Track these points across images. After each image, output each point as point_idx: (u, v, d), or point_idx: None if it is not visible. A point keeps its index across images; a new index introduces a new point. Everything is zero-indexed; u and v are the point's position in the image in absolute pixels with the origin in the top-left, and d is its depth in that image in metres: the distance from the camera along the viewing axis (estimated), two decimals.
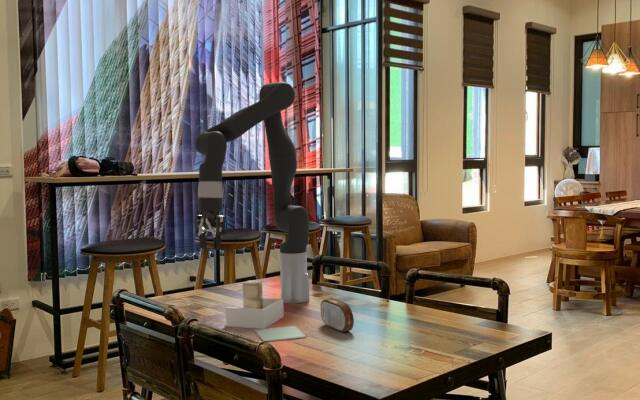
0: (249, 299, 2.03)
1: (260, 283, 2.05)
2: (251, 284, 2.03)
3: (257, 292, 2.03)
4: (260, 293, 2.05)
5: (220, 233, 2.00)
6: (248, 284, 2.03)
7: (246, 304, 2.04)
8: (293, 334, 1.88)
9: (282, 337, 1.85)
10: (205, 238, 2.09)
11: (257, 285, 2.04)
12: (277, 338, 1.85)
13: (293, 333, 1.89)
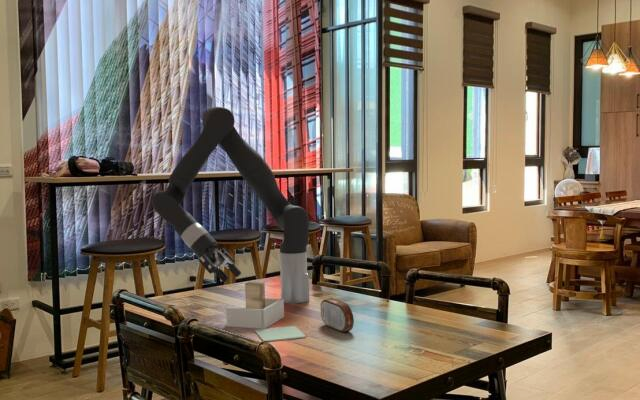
0: (251, 299, 2.03)
1: (262, 283, 2.05)
2: (253, 284, 2.03)
3: (259, 292, 2.03)
4: (262, 293, 2.05)
5: (210, 270, 2.02)
6: (250, 284, 2.03)
7: (249, 304, 2.04)
8: (293, 334, 1.88)
9: (282, 337, 1.85)
10: (233, 266, 2.11)
11: (260, 286, 2.03)
12: (277, 338, 1.85)
13: (293, 333, 1.89)
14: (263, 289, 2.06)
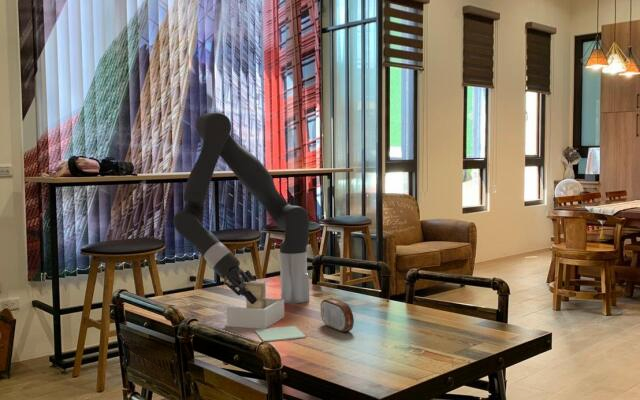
0: None
1: (263, 283, 2.05)
2: (254, 284, 2.03)
3: (260, 292, 2.03)
4: (263, 293, 2.05)
5: (238, 292, 2.01)
6: (251, 284, 2.03)
7: (250, 304, 2.03)
8: (293, 334, 1.88)
9: (282, 337, 1.85)
10: None
11: (260, 286, 2.03)
12: (277, 338, 1.85)
13: (293, 333, 1.89)
14: (264, 289, 2.05)
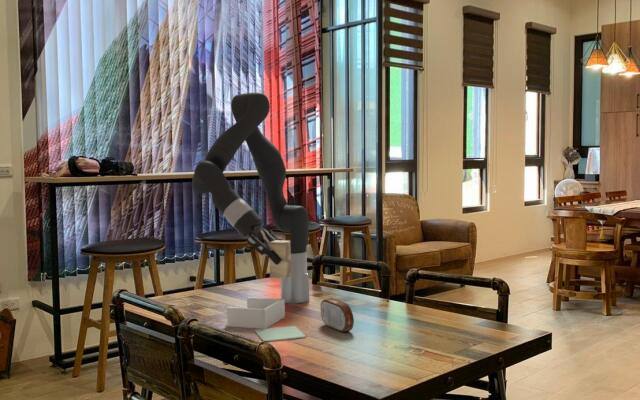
0: None
1: (288, 243, 1.88)
2: (279, 243, 1.86)
3: (285, 252, 1.86)
4: (288, 254, 1.88)
5: (262, 251, 1.84)
6: (275, 243, 1.86)
7: (273, 265, 1.87)
8: (293, 334, 1.88)
9: (282, 337, 1.85)
10: None
11: (285, 245, 1.86)
12: (277, 338, 1.85)
13: (293, 333, 1.89)
14: (289, 249, 1.89)
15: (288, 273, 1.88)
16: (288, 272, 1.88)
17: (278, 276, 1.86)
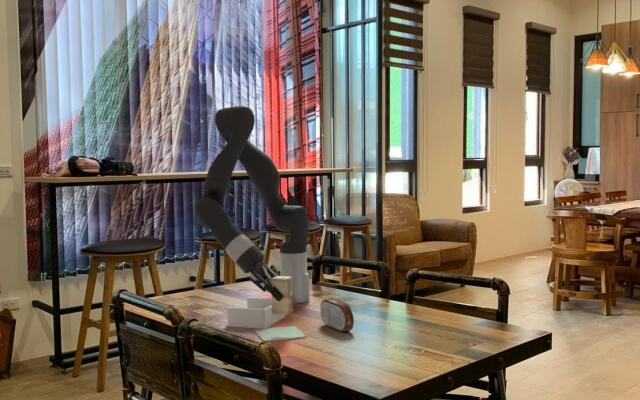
0: None
1: (290, 279, 1.89)
2: (281, 280, 1.86)
3: (287, 288, 1.87)
4: (290, 290, 1.89)
5: (264, 288, 1.85)
6: (277, 280, 1.86)
7: (275, 301, 1.87)
8: (293, 334, 1.88)
9: (282, 337, 1.85)
10: None
11: (287, 281, 1.87)
12: (277, 338, 1.85)
13: (293, 333, 1.89)
14: (291, 285, 1.89)
15: (290, 309, 1.89)
16: (290, 308, 1.89)
17: (280, 312, 1.87)
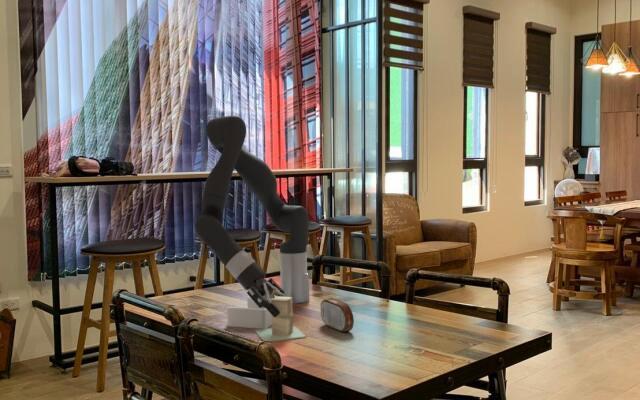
0: (278, 317, 1.87)
1: (290, 299, 1.89)
2: (281, 301, 1.87)
3: (287, 309, 1.87)
4: (290, 310, 1.89)
5: (260, 304, 1.84)
6: (277, 301, 1.87)
7: (275, 322, 1.88)
8: (293, 334, 1.88)
9: (282, 337, 1.85)
10: None
11: (287, 302, 1.87)
12: (277, 338, 1.85)
13: (293, 333, 1.89)
14: (291, 306, 1.90)
15: (290, 330, 1.89)
16: (291, 329, 1.90)
17: (280, 333, 1.87)
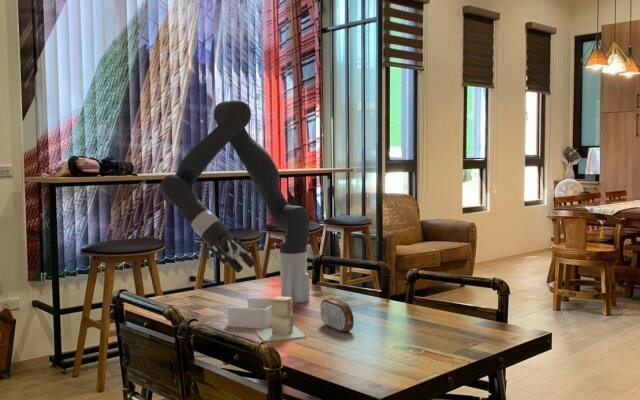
0: (278, 317, 1.87)
1: (290, 299, 1.89)
2: (281, 301, 1.87)
3: (287, 309, 1.87)
4: (290, 310, 1.89)
5: (223, 260, 1.89)
6: (277, 301, 1.87)
7: (275, 322, 1.88)
8: (293, 334, 1.88)
9: (282, 337, 1.85)
10: (246, 256, 1.99)
11: (287, 302, 1.87)
12: (277, 338, 1.85)
13: (293, 333, 1.89)
14: (291, 306, 1.90)
15: (290, 330, 1.89)
16: (291, 329, 1.90)
17: (280, 333, 1.87)
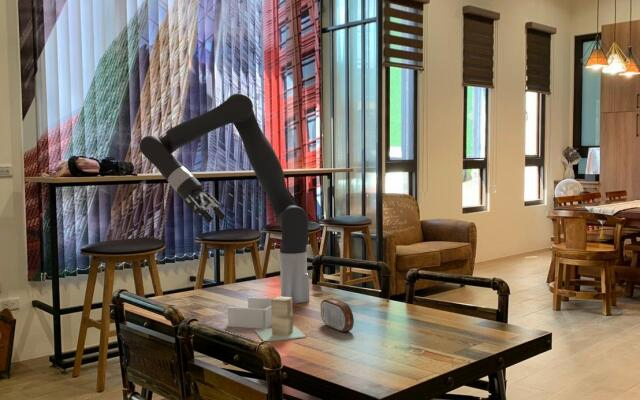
0: (278, 317, 1.87)
1: (290, 299, 1.89)
2: (281, 301, 1.87)
3: (287, 309, 1.87)
4: (290, 310, 1.89)
5: (195, 211, 2.09)
6: (277, 301, 1.87)
7: (275, 322, 1.88)
8: (293, 334, 1.88)
9: (282, 337, 1.85)
10: (218, 210, 2.18)
11: (287, 302, 1.87)
12: (277, 338, 1.85)
13: (293, 333, 1.89)
14: (291, 306, 1.90)
15: (290, 330, 1.89)
16: (291, 329, 1.90)
17: (280, 333, 1.87)
